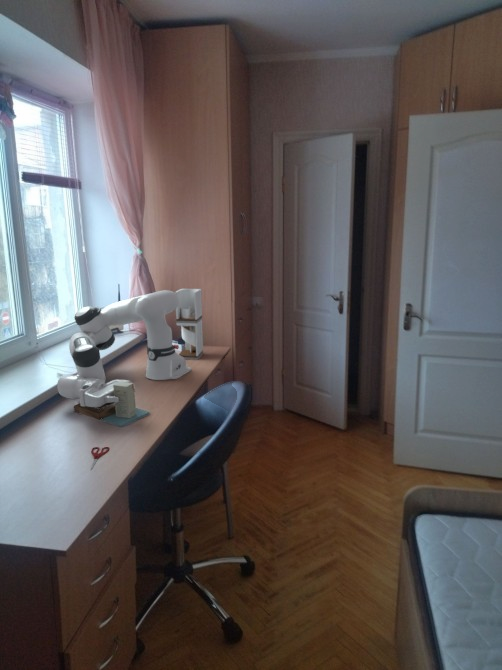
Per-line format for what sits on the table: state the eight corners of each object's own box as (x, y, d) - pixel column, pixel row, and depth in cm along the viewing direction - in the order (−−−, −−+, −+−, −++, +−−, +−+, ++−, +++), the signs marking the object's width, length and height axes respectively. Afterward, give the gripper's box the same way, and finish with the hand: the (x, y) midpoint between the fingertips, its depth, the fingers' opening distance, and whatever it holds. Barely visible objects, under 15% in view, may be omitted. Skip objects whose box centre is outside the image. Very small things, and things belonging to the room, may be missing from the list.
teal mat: (130, 408, 187) (130, 406, 187) (149, 413, 182) (149, 411, 182) (102, 420, 176) (101, 418, 176) (121, 427, 170) (121, 425, 170)
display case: (183, 353, 263) (181, 288, 255) (203, 353, 261) (201, 289, 253) (177, 359, 252) (175, 291, 244) (197, 359, 250) (196, 292, 242)
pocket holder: (103, 400, 195) (102, 394, 195) (128, 407, 188) (127, 401, 187) (74, 411, 184) (73, 405, 183) (99, 420, 176) (98, 413, 176)
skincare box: (136, 414, 179) (134, 383, 176) (129, 418, 175) (127, 386, 172) (122, 412, 182) (120, 380, 179) (115, 416, 178) (112, 384, 175)
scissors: (110, 449, 156) (110, 446, 155) (100, 471, 142) (100, 467, 142) (92, 449, 155) (92, 446, 155) (81, 471, 142) (81, 468, 141)
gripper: (113, 389, 191) (143, 393, 187) (77, 408, 173) (110, 413, 168) (111, 374, 190) (142, 378, 185) (76, 391, 171) (109, 396, 166)
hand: (126, 395), depth 176 cm, fingers open, 8 cm apart
